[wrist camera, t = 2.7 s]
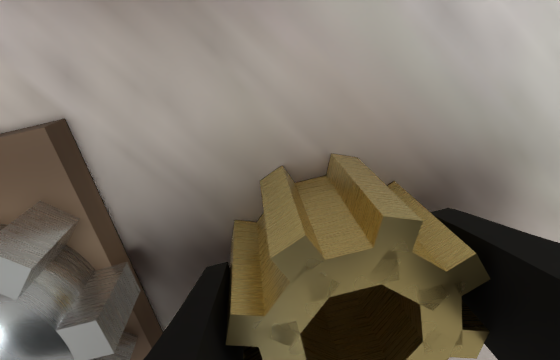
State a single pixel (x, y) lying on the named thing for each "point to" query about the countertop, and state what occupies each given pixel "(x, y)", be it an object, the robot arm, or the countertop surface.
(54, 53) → the countertop surface
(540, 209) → the countertop surface
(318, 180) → the brass gear
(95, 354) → the gear
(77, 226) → the gear board
